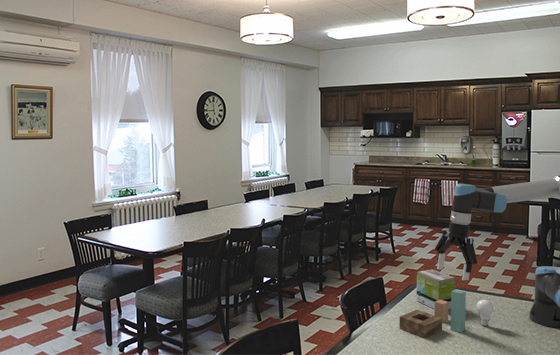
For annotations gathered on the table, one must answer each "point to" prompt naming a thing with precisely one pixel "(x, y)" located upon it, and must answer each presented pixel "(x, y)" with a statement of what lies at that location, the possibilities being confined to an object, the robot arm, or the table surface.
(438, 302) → the short peg
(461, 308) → the long peg
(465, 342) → the table surface
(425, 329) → the socket block
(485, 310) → the lightbulb
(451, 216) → the robot arm
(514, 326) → the table surface
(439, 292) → the tea box
